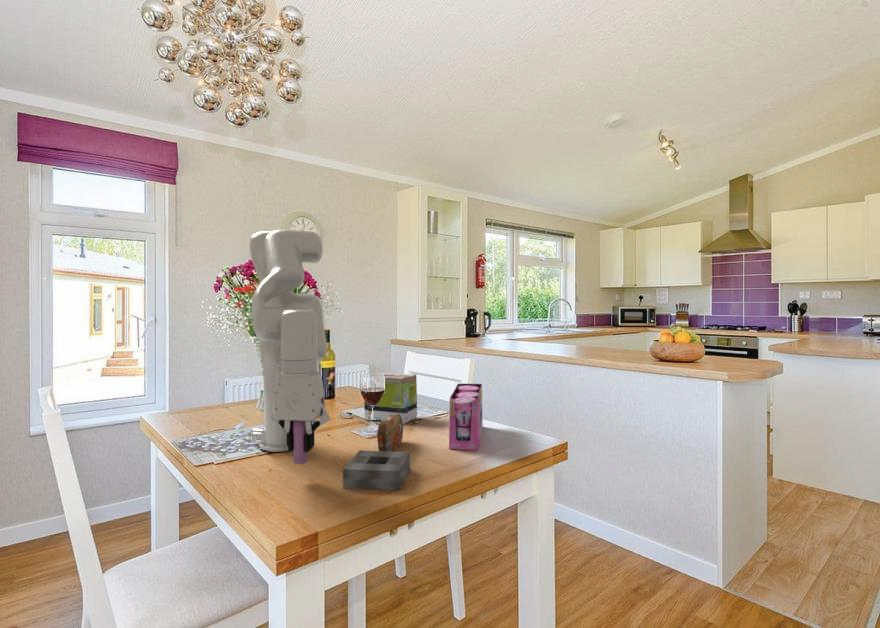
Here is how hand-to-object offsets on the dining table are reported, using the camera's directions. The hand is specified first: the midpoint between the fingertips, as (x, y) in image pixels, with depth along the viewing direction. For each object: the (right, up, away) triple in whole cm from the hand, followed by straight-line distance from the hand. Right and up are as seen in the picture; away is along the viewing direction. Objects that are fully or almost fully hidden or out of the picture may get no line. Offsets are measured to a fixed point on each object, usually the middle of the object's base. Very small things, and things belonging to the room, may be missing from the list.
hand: (300, 449), depth 100 cm
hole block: (+17, -7, +1) cm, 18 cm away
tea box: (+14, -6, +52) cm, 54 cm away
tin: (+17, -7, +22) cm, 28 cm away
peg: (0, -3, 0) cm, 3 cm away
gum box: (+38, -6, +31) cm, 50 cm away
